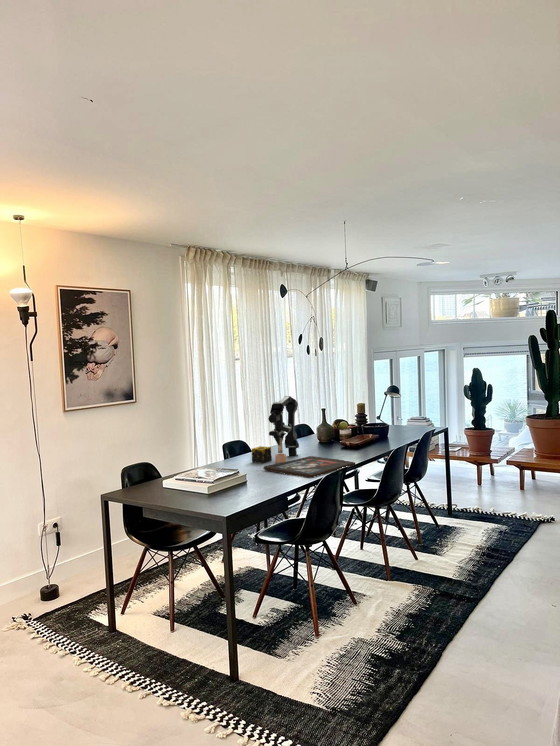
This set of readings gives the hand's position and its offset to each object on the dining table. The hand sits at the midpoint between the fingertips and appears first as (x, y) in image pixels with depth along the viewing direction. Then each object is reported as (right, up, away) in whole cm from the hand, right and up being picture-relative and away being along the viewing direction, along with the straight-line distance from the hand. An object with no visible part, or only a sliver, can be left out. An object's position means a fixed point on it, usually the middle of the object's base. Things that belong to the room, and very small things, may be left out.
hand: (279, 444), depth 372 cm
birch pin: (0, -6, 0) cm, 6 cm away
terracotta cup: (+1, -12, 0) cm, 12 cm away
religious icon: (+19, -13, -21) cm, 31 cm away
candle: (-12, -13, +6) cm, 19 cm away
